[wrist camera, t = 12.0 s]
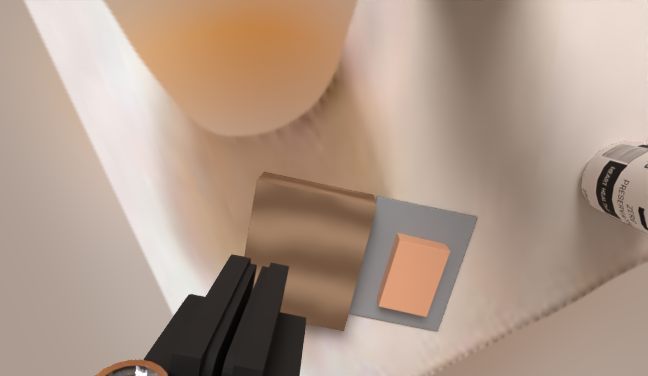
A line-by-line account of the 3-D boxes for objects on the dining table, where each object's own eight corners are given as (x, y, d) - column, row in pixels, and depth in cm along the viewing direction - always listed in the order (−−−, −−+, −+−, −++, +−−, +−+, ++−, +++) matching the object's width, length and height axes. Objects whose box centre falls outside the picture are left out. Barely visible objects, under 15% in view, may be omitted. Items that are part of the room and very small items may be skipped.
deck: (264, 171, 43) (256, 180, 39) (373, 195, 43) (377, 206, 39) (243, 290, 47) (235, 309, 43) (343, 310, 47) (343, 330, 43)
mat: (377, 195, 43) (377, 196, 43) (476, 216, 43) (477, 217, 43) (346, 311, 47) (346, 313, 47) (437, 329, 48) (437, 331, 47)
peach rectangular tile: (450, 251, 42) (445, 244, 44) (399, 239, 42) (397, 232, 44) (426, 316, 45) (422, 307, 46) (378, 306, 44) (376, 296, 46)
